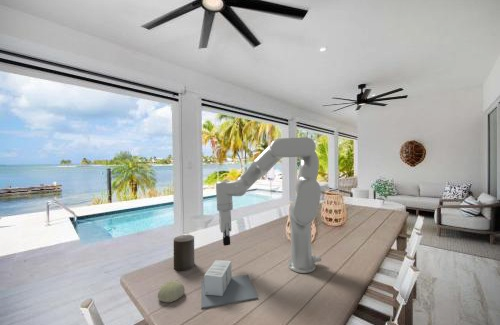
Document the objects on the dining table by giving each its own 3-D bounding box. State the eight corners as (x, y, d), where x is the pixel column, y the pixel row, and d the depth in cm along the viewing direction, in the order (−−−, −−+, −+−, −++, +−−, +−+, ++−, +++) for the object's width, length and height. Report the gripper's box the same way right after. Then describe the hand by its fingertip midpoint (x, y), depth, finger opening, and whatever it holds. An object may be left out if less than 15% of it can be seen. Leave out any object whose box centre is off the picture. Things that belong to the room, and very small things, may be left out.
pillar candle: (176, 273, 94) (176, 240, 94) (171, 264, 102) (171, 234, 102) (197, 267, 99) (197, 236, 99) (191, 259, 107) (191, 230, 107)
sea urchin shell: (160, 285, 82) (174, 270, 82) (175, 298, 82) (189, 283, 83) (151, 300, 73) (167, 283, 73) (168, 315, 73) (184, 297, 74)
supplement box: (232, 277, 88) (222, 297, 76) (215, 276, 89) (203, 295, 77) (231, 260, 88) (222, 277, 75) (215, 259, 89) (203, 275, 77)
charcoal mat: (248, 275, 90) (248, 274, 90) (258, 298, 75) (258, 297, 75) (201, 282, 86) (201, 281, 86) (201, 309, 70) (201, 307, 70)
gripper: (215, 204, 106) (217, 240, 106) (218, 210, 91) (220, 252, 91) (230, 203, 108) (232, 238, 108) (235, 208, 93) (237, 249, 93)
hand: (226, 244), depth 99 cm, fingers closed
